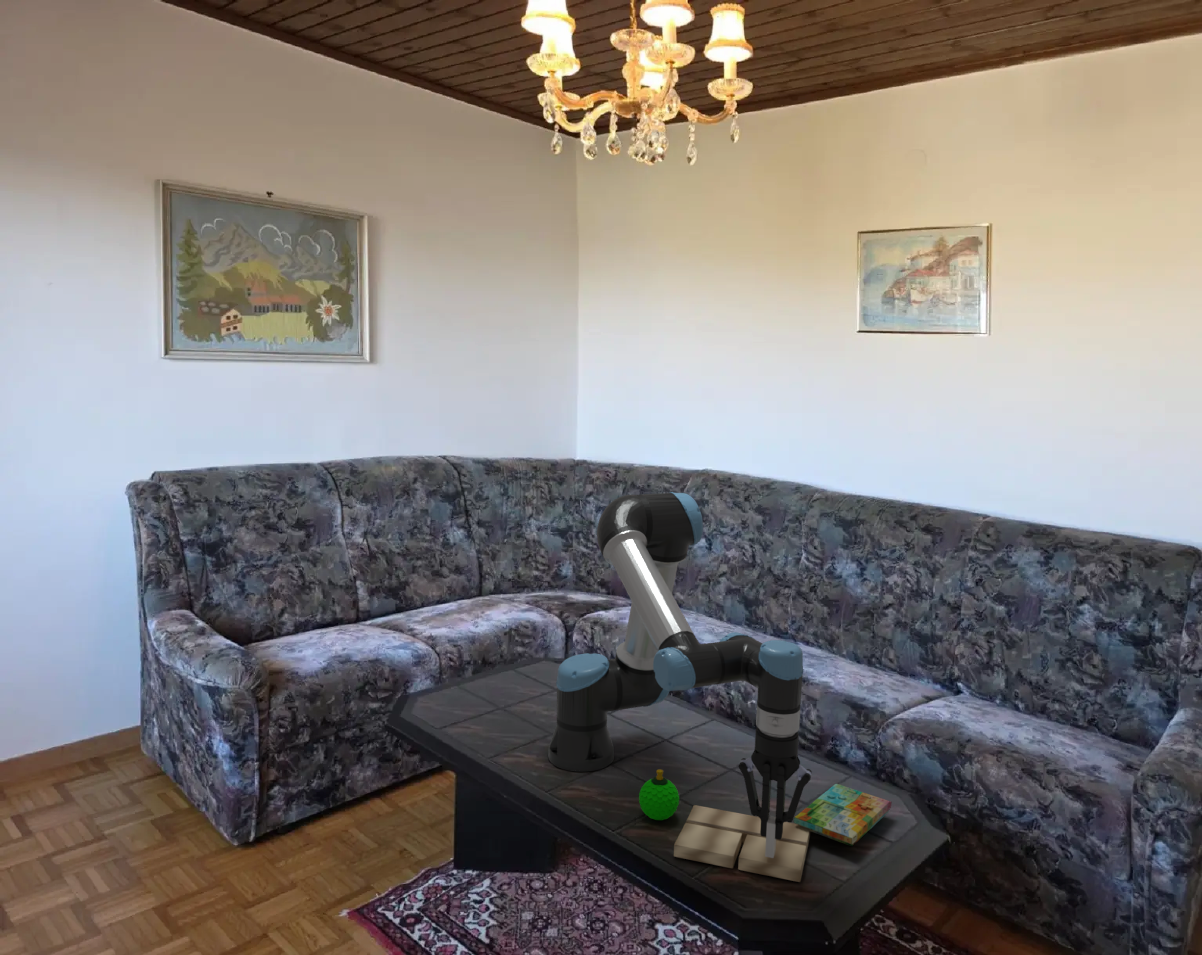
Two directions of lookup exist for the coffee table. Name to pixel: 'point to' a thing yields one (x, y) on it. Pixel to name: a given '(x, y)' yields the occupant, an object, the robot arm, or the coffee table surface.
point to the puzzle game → (843, 814)
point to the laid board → (745, 824)
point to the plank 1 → (708, 845)
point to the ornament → (659, 797)
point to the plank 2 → (781, 866)
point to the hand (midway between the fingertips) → (770, 853)
